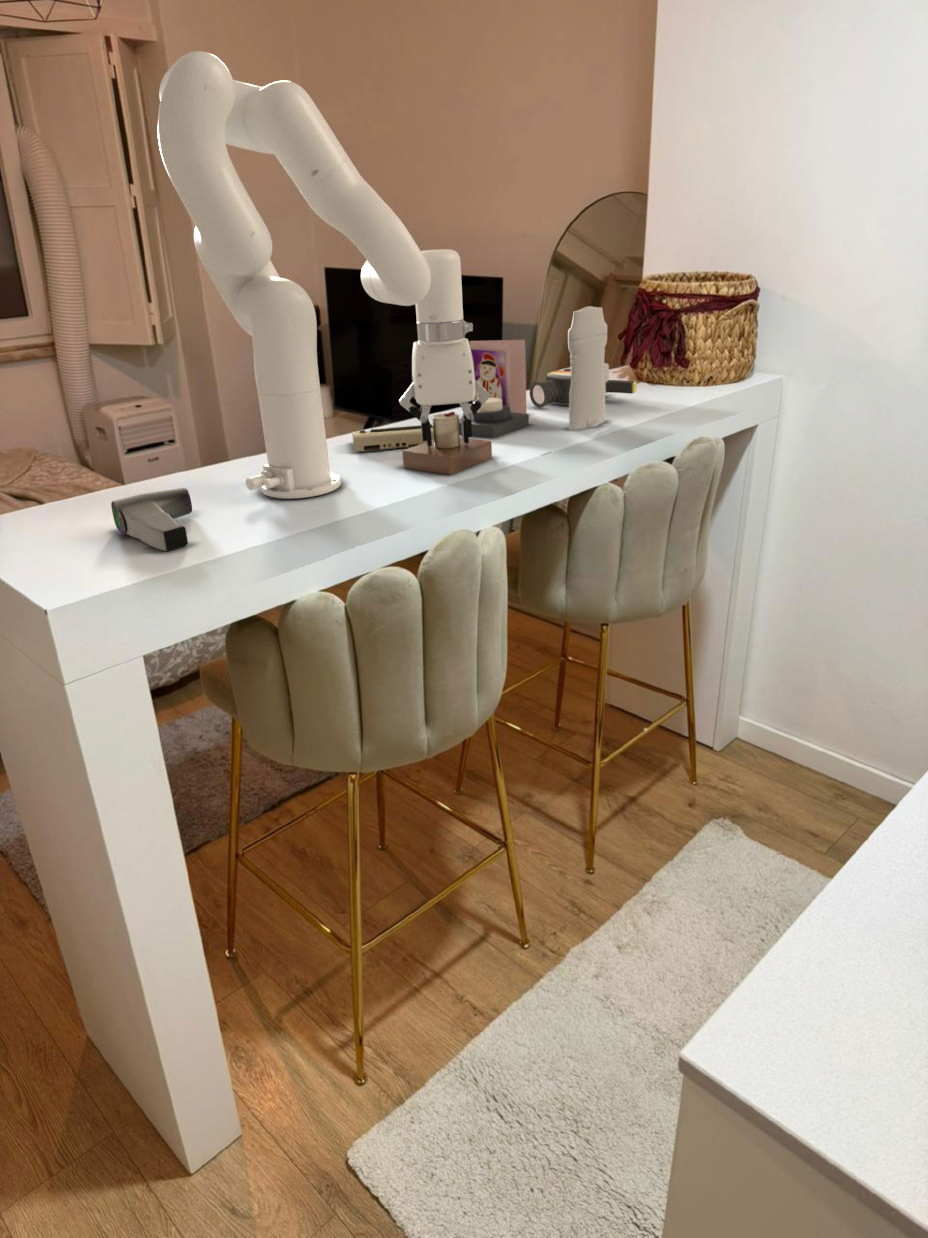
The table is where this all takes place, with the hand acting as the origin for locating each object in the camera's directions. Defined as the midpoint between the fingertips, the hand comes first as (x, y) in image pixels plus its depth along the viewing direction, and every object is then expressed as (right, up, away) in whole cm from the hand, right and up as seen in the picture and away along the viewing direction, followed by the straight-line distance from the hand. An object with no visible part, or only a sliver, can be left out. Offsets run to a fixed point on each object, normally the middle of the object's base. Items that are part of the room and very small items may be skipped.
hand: (447, 442), depth 150 cm
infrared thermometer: (-38, -18, -25) cm, 49 cm away
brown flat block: (0, -3, +2) cm, 4 cm away
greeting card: (+11, +12, +34) cm, 37 cm away
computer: (-10, +2, +15) cm, 18 cm away
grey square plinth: (+8, +7, +23) cm, 26 cm away
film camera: (+29, +16, +40) cm, 52 cm away
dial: (0, 0, 0) cm, 1 cm away
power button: (+8, +10, +22) cm, 25 cm away
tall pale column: (+27, +7, +22) cm, 35 cm away
